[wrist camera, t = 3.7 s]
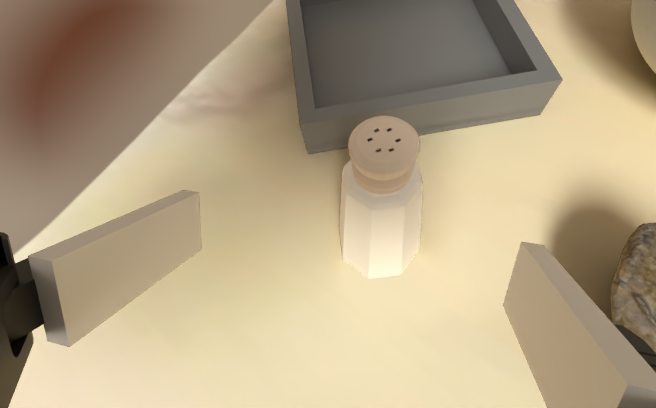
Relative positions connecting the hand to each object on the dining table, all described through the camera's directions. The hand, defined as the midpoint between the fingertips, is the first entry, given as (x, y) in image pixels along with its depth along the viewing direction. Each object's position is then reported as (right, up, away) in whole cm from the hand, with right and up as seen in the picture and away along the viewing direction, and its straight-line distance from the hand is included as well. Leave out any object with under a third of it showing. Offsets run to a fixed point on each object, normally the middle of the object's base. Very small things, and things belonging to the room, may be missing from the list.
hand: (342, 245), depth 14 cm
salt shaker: (+3, -1, +9) cm, 10 cm away
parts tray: (+6, +15, +17) cm, 23 cm away
